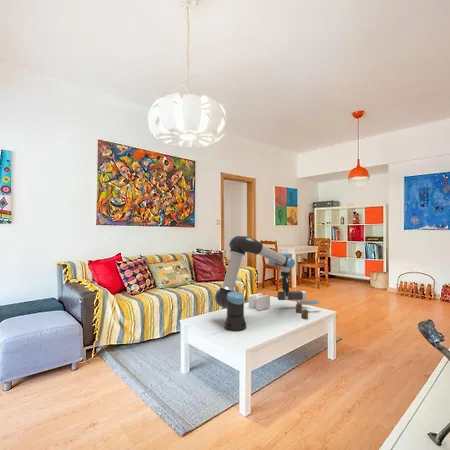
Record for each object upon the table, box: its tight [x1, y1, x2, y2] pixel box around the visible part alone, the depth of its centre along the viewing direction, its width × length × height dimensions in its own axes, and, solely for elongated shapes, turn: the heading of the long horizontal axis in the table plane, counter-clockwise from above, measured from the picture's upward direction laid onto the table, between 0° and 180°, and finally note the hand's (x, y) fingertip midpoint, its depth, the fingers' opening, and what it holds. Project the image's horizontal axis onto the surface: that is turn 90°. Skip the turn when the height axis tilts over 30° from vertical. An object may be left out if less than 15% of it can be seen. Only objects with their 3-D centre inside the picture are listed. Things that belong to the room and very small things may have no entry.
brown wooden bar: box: [295, 303, 309, 320], centre depth 222 cm, size 4×17×6 cm, turn 3°
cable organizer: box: [248, 292, 271, 311], centre depth 241 cm, size 15×11×12 cm
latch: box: [296, 299, 320, 306], centre depth 230 cm, size 3×18×3 cm, turn 94°
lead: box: [277, 290, 307, 301], centre depth 240 cm, size 23×5×6 cm, turn 93°
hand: (285, 298), depth 240 cm, fingers closed on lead, 5 cm apart
